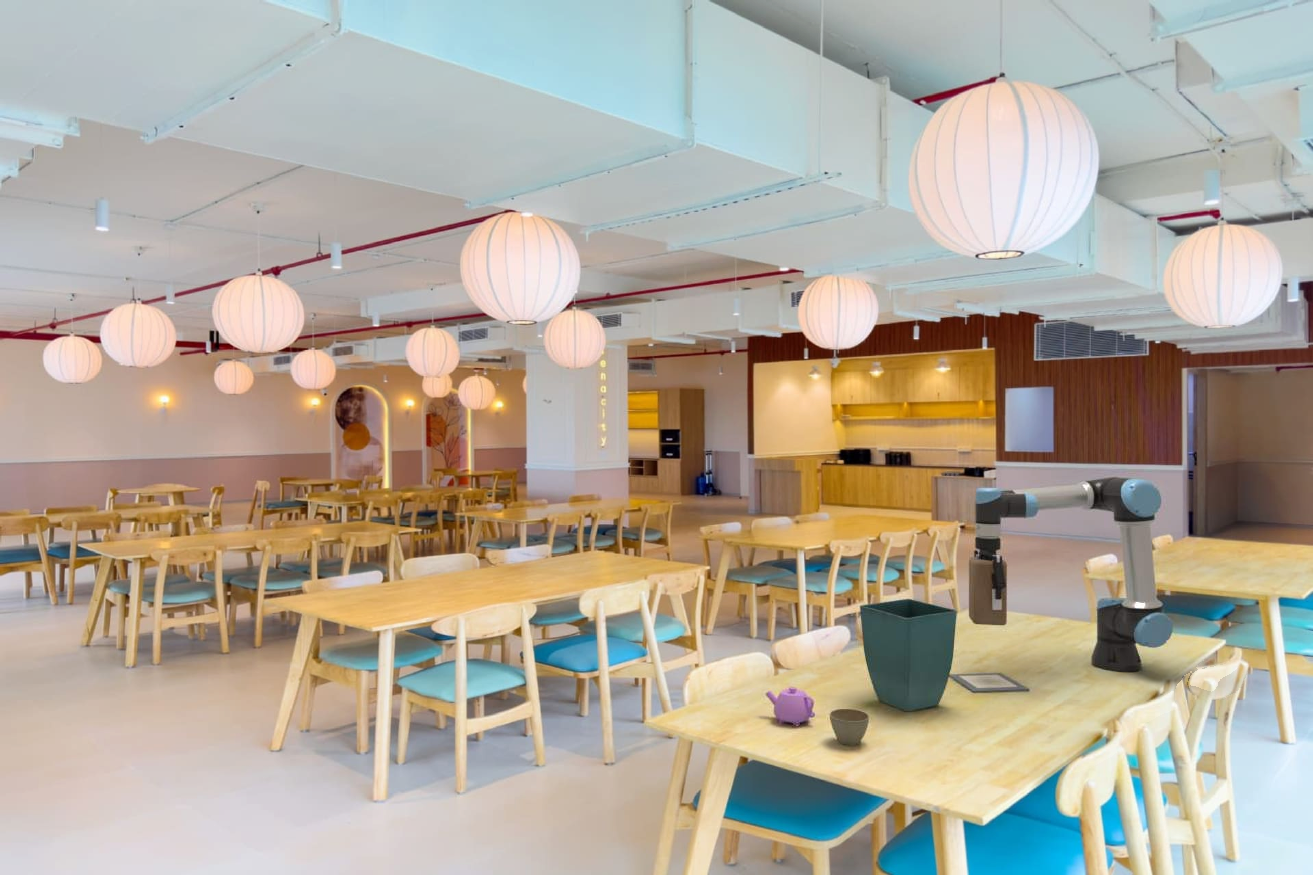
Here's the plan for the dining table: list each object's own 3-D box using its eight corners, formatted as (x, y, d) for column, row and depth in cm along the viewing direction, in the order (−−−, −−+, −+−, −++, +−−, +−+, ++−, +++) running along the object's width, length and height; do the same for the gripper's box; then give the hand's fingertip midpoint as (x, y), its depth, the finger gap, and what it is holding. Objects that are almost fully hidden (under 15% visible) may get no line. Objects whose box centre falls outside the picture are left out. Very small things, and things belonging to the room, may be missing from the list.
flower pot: (906, 718, 242) (906, 617, 241) (858, 699, 259) (858, 604, 259) (958, 708, 251) (958, 610, 251) (908, 689, 269) (908, 598, 268)
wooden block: (1007, 626, 269) (1007, 561, 269) (973, 624, 271) (973, 560, 271) (1001, 619, 279) (1001, 557, 279) (968, 617, 281) (968, 556, 281)
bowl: (824, 736, 228) (824, 708, 228) (862, 734, 229) (862, 707, 229) (835, 749, 218) (835, 721, 218) (874, 748, 219) (874, 720, 219)
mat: (1000, 674, 285) (1000, 672, 285) (1029, 690, 267) (1029, 688, 267) (948, 676, 283) (948, 673, 283) (973, 692, 265) (973, 690, 265)
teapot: (806, 731, 232) (806, 696, 232) (756, 720, 241) (756, 686, 241) (823, 720, 240) (823, 686, 240) (774, 710, 249) (774, 677, 249)
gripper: (959, 532, 286) (959, 598, 286) (994, 541, 263) (994, 613, 263) (981, 532, 287) (981, 598, 287) (1018, 541, 263) (1018, 613, 264)
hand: (987, 605), depth 275 cm, fingers closed on wooden block, 11 cm apart
